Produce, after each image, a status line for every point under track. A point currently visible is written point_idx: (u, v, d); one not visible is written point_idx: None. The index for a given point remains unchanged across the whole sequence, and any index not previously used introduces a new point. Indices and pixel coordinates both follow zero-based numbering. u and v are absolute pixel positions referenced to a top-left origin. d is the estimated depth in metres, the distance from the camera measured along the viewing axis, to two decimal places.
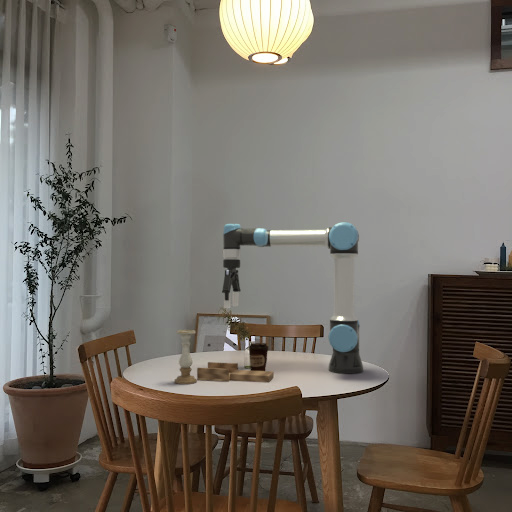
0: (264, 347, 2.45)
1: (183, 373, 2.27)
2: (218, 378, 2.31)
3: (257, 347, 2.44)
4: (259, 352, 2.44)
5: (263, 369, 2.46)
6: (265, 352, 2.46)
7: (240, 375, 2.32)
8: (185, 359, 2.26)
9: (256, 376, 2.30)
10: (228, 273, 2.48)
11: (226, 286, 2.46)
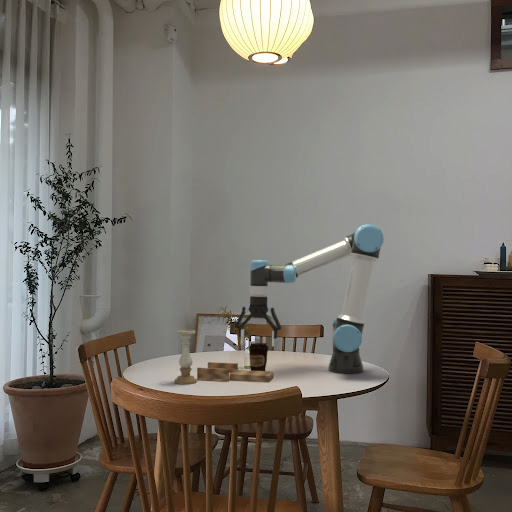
0: (264, 347, 2.45)
1: (183, 373, 2.27)
2: (218, 378, 2.31)
3: (257, 347, 2.44)
4: (259, 352, 2.44)
5: (263, 369, 2.46)
6: (265, 352, 2.46)
7: (240, 375, 2.32)
8: (185, 359, 2.26)
9: (256, 376, 2.30)
10: None
11: None
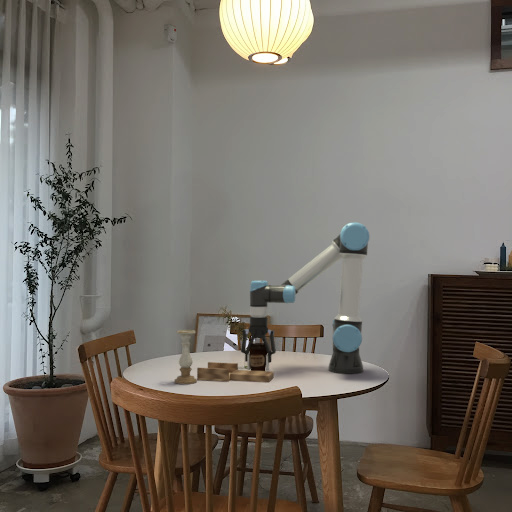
0: (264, 347, 2.45)
1: (183, 373, 2.27)
2: (218, 378, 2.31)
3: (257, 347, 2.44)
4: (259, 352, 2.44)
5: (263, 369, 2.46)
6: (265, 352, 2.46)
7: (240, 375, 2.32)
8: (185, 359, 2.26)
9: (256, 376, 2.30)
10: None
11: None
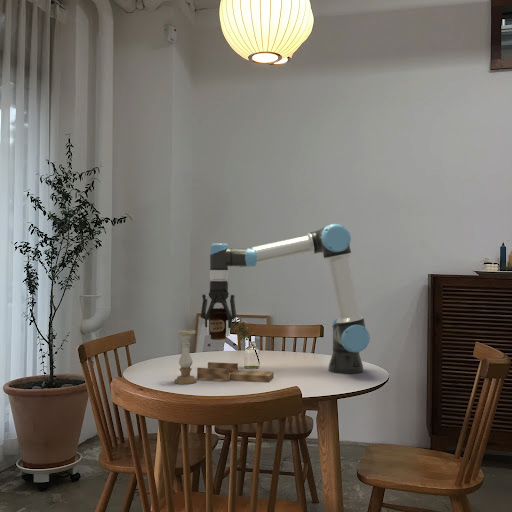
0: (224, 312, 2.37)
1: (183, 373, 2.27)
2: (218, 378, 2.31)
3: (216, 311, 2.36)
4: (219, 317, 2.36)
5: (223, 335, 2.38)
6: (225, 317, 2.38)
7: (240, 375, 2.32)
8: (185, 359, 2.26)
9: (256, 376, 2.30)
10: None
11: None
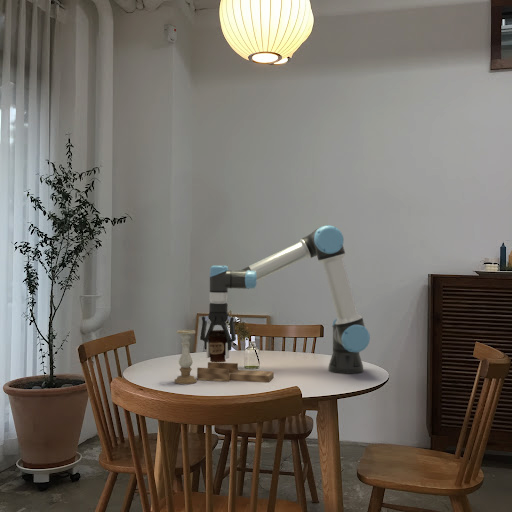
0: (224, 334, 2.37)
1: (183, 373, 2.27)
2: (218, 378, 2.31)
3: (216, 334, 2.36)
4: (218, 339, 2.36)
5: (223, 357, 2.38)
6: (225, 339, 2.38)
7: (240, 375, 2.32)
8: (185, 359, 2.26)
9: (256, 376, 2.30)
10: None
11: None
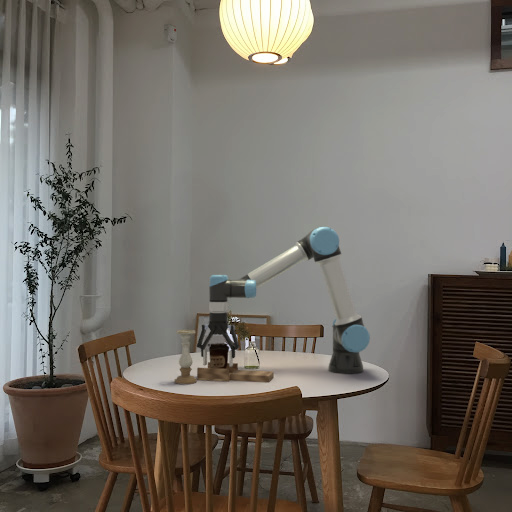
0: (224, 347, 2.37)
1: (183, 373, 2.27)
2: (218, 378, 2.31)
3: (217, 347, 2.36)
4: (219, 353, 2.36)
5: None
6: (225, 353, 2.38)
7: (240, 375, 2.32)
8: (185, 359, 2.26)
9: (256, 376, 2.30)
10: None
11: None
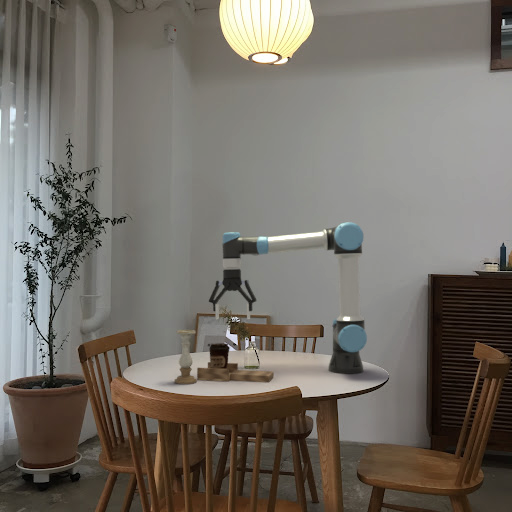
0: (225, 348, 2.37)
1: (183, 373, 2.27)
2: (218, 378, 2.31)
3: (217, 347, 2.36)
4: (219, 353, 2.36)
5: None
6: (226, 353, 2.38)
7: (240, 375, 2.32)
8: (185, 359, 2.26)
9: (256, 376, 2.30)
10: None
11: None
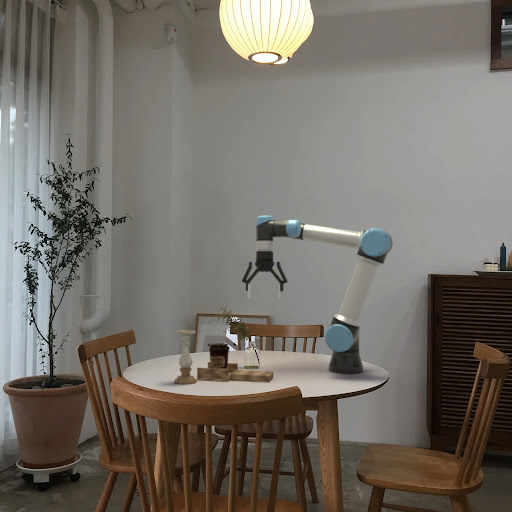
0: (224, 348, 2.37)
1: (183, 373, 2.27)
2: (218, 378, 2.31)
3: (217, 348, 2.35)
4: (219, 353, 2.36)
5: None
6: (226, 353, 2.38)
7: (240, 375, 2.32)
8: (185, 359, 2.26)
9: (256, 376, 2.30)
10: None
11: None
